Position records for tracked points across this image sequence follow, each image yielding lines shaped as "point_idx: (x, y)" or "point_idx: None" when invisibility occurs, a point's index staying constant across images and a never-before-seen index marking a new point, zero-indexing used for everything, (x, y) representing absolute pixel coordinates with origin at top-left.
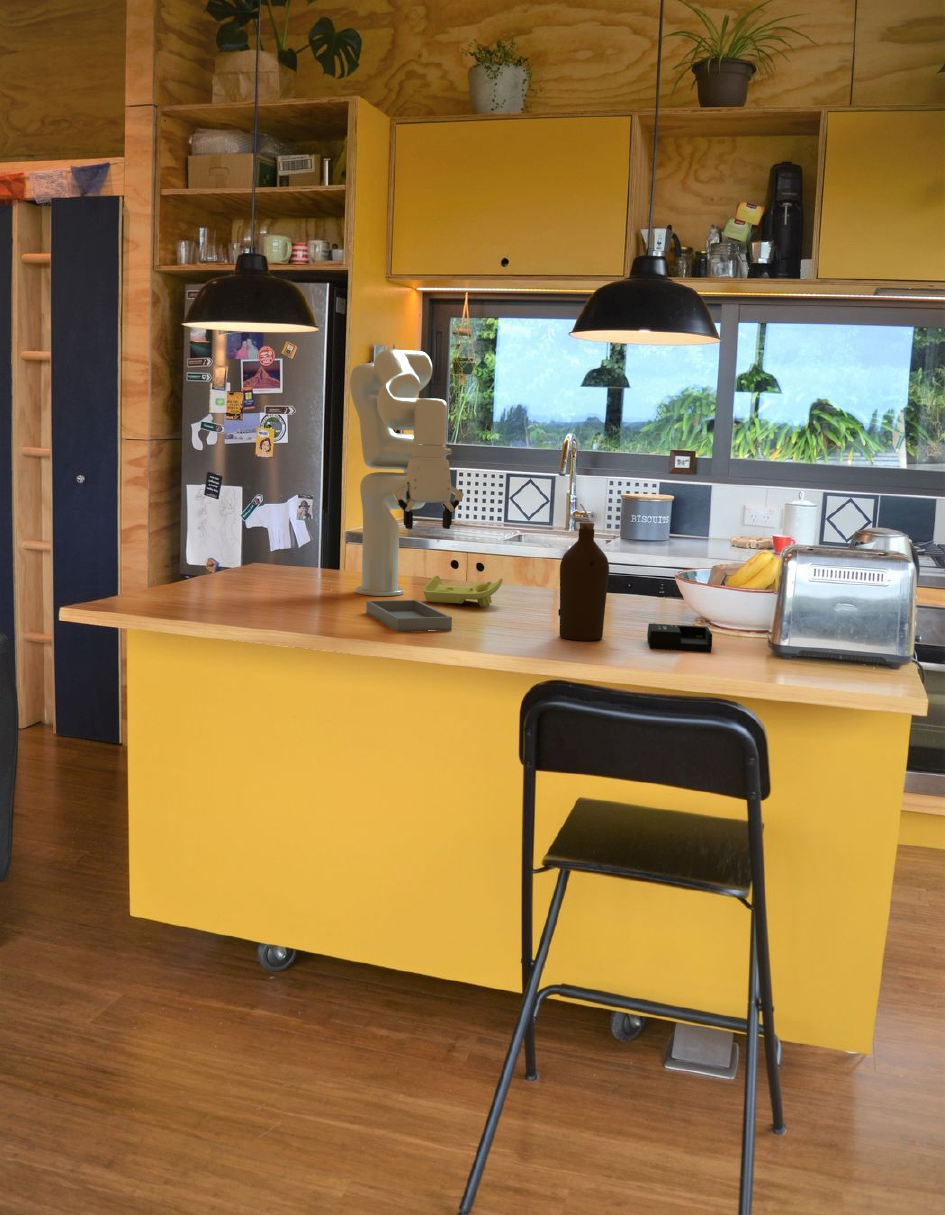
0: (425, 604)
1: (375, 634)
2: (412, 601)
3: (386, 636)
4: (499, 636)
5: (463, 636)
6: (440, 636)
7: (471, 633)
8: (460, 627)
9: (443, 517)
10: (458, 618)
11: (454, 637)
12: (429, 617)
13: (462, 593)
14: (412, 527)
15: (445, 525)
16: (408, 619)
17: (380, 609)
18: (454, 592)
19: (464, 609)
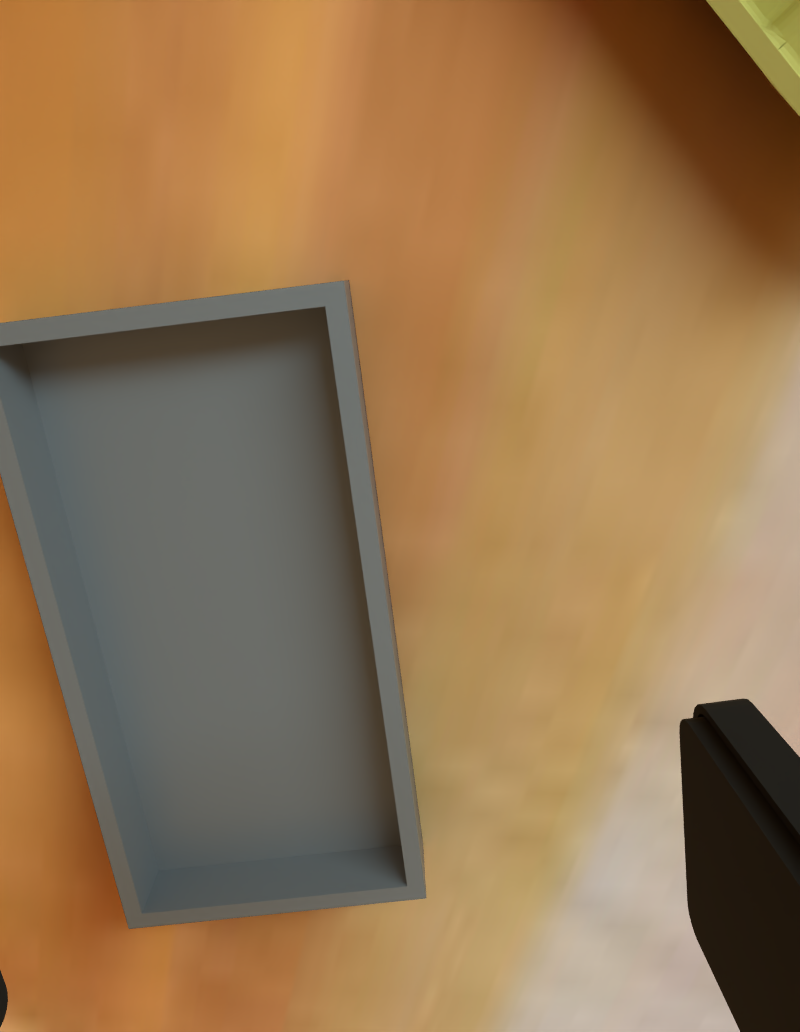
0: (368, 489)
1: (42, 906)
2: (308, 307)
3: (91, 946)
4: (610, 964)
5: (444, 958)
6: (339, 955)
7: (503, 902)
8: (494, 767)
9: (785, 913)
10: (566, 513)
11: (397, 975)
12: (303, 900)
13: (778, 84)
14: (2, 1021)
15: (705, 897)
16: (187, 919)
17: (51, 645)
18: (733, 5)
19: (726, 161)
